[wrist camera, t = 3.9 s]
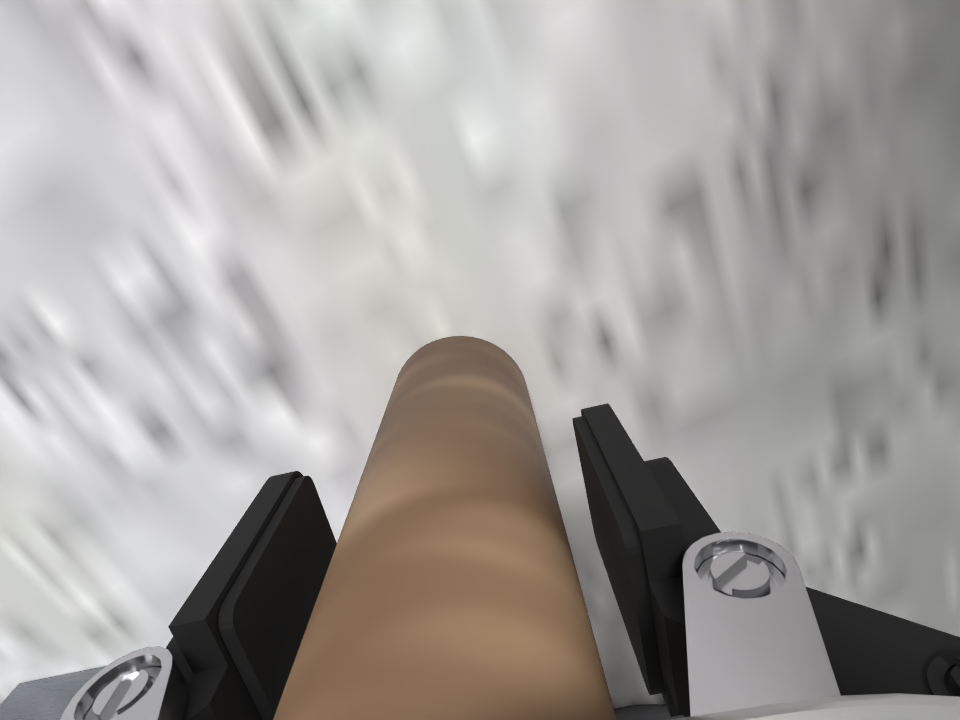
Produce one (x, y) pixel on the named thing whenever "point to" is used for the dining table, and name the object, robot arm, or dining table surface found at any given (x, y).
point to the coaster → (645, 713)
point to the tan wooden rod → (452, 565)
